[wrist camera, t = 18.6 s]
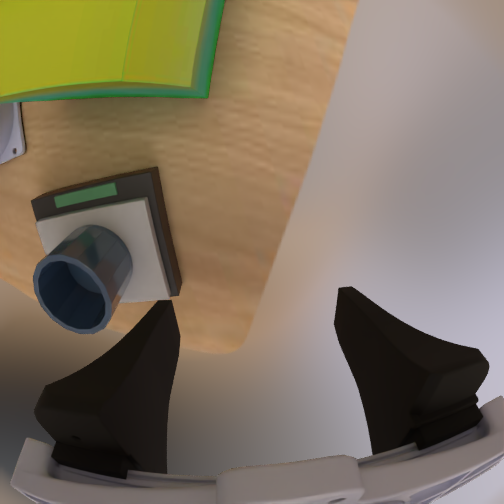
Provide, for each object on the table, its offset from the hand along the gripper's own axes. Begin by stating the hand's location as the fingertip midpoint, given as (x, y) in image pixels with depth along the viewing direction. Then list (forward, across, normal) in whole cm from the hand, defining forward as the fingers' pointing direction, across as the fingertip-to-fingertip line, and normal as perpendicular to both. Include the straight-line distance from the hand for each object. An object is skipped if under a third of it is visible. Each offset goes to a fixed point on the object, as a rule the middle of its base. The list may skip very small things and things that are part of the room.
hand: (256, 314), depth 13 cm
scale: (+9, +10, 0) cm, 14 cm away
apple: (+10, +6, -15) cm, 19 cm away
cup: (+7, +10, 0) cm, 12 cm away
